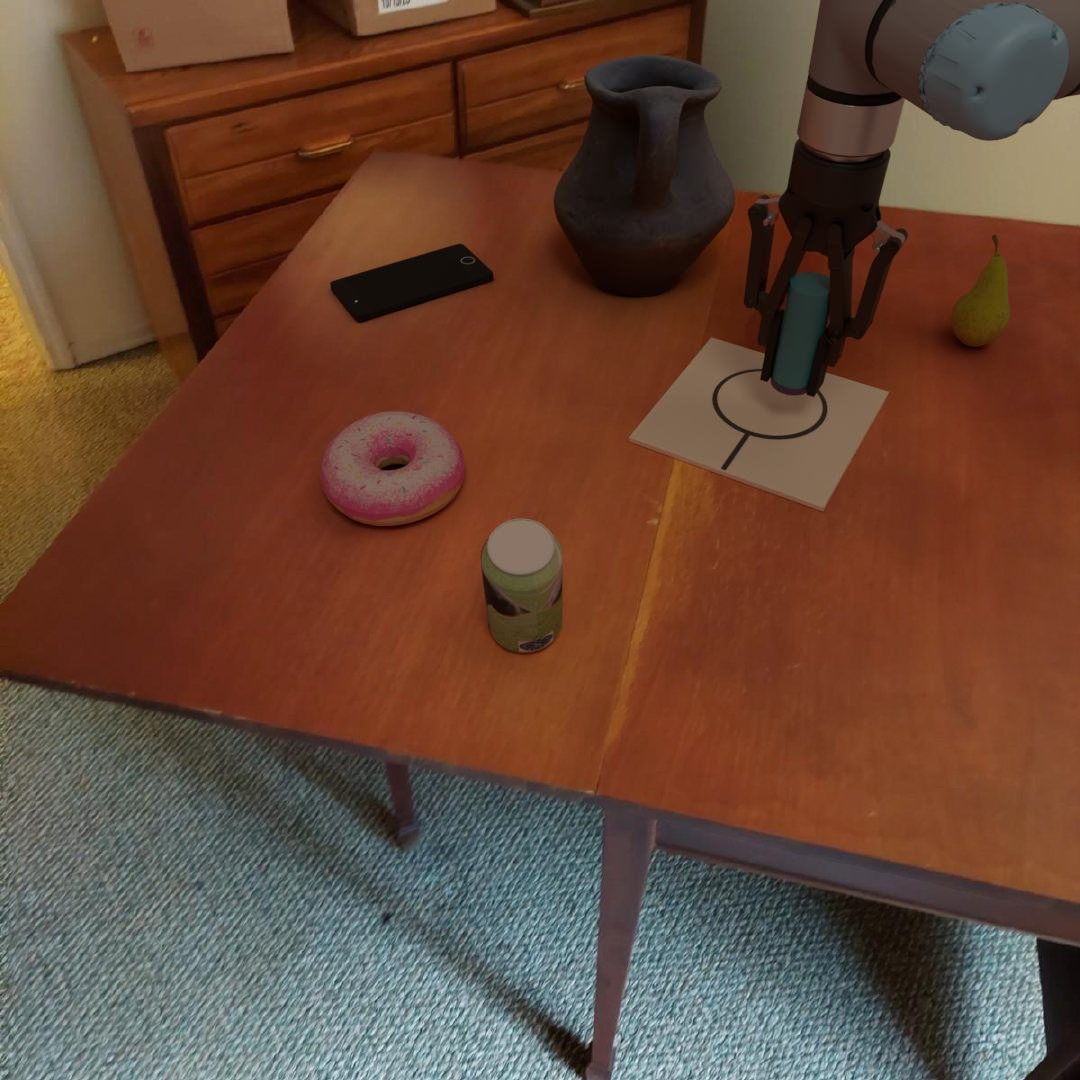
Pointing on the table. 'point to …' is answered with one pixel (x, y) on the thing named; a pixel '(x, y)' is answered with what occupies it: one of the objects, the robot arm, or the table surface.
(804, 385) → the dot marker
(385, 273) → the cell phone
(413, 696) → the table surface
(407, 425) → the donut
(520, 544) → the beverage can
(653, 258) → the pitcher
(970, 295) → the fruit
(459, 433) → the table surface
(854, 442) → the drawing sheet
